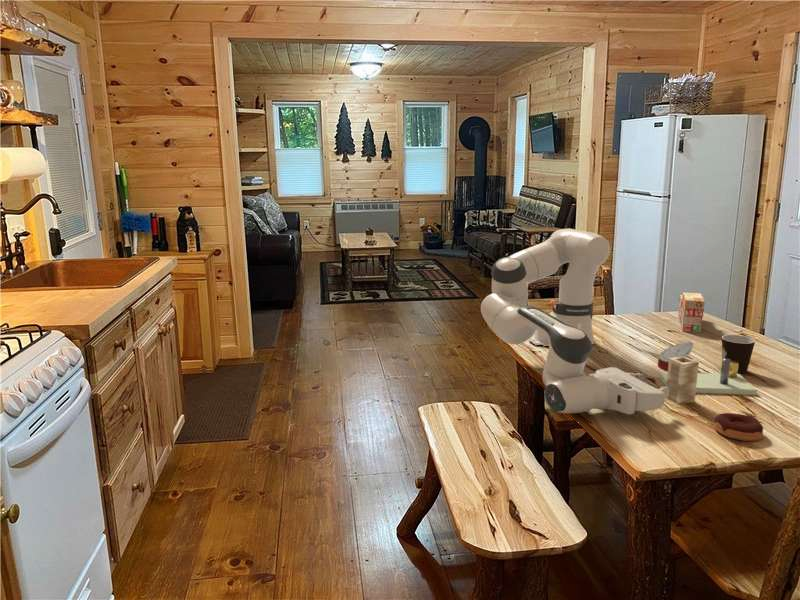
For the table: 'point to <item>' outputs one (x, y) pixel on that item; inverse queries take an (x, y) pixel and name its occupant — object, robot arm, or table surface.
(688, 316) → the stack of blocks
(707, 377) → the peg board
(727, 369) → the steel peg
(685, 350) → the canned food
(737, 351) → the coffee mug
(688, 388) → the sleeve
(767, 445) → the table surface
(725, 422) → the donut
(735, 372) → the brass peg
